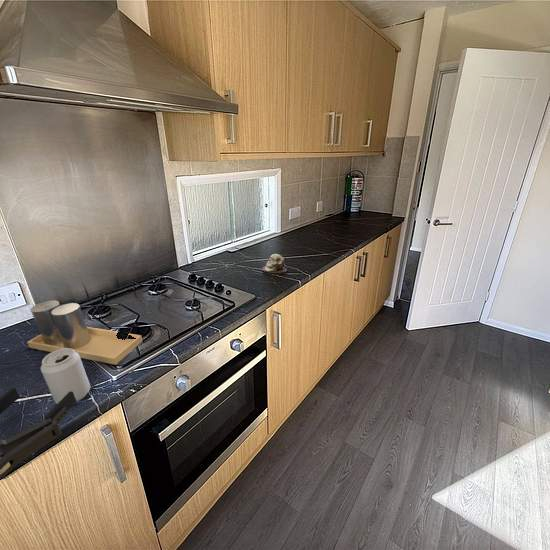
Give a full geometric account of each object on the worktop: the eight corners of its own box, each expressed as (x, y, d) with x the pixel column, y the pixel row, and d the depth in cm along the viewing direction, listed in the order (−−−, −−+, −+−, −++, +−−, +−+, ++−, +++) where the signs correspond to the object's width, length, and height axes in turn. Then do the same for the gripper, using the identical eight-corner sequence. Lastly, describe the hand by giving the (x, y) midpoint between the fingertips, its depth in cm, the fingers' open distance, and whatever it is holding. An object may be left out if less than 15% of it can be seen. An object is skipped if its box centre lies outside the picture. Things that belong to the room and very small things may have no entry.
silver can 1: (38, 343, 91) (24, 310, 86) (59, 331, 97) (47, 299, 92) (56, 347, 89) (42, 313, 84) (76, 334, 95) (64, 301, 90)
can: (70, 411, 67) (53, 370, 62) (48, 403, 70) (29, 362, 65) (98, 388, 73) (84, 349, 69) (77, 381, 76) (62, 343, 71)
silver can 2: (58, 347, 89) (45, 313, 84) (78, 334, 95) (67, 302, 90) (76, 351, 87) (63, 316, 82) (95, 337, 93) (84, 304, 88)
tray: (29, 348, 89) (26, 342, 88) (63, 328, 99) (60, 322, 98) (116, 366, 81) (113, 358, 80) (143, 342, 91) (141, 335, 90)
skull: (272, 275, 133) (263, 255, 135) (264, 283, 142) (255, 264, 144) (293, 268, 139) (284, 249, 141) (284, 276, 148) (276, 258, 150)
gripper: (-129, 509, 47) (-1, 403, 66) (11, 526, 44) (102, 410, 63) (-158, 479, 44) (-15, 377, 63) (-10, 495, 41) (92, 384, 60)
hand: (44, 394), depth 63 cm, fingers open, 13 cm apart
